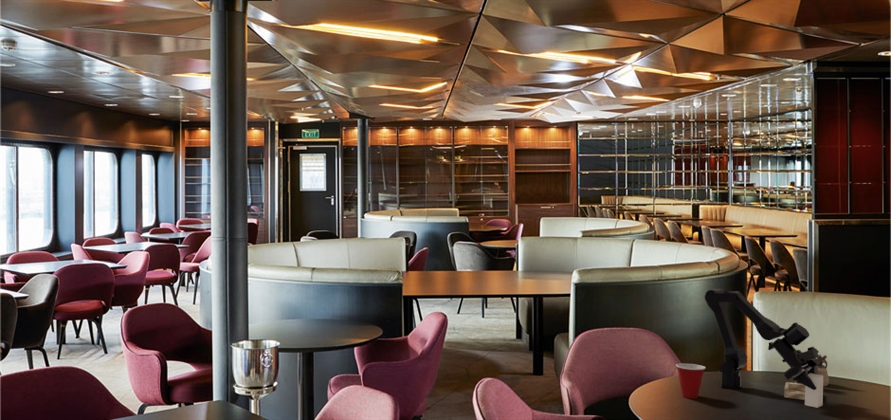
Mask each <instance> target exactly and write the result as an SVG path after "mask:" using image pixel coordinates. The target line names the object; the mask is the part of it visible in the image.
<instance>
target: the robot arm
mask: <svg viewBox="0 0 891 420" xmlns="http://www.w3.org/2000/svg"><path fill="white" fill-rule="evenodd" d="M704 300H705V302H706V304H707V306H708V307H709V309H710V310H711V311H712V312H713V314H714V318H715V321H716V323H717V327H718V329H719V330H718V331H719V334H720V337H721V340H722V344H723V346H724V354H723V357H724V358H723V359H724V362H723V363H721V364H720V366H718V369H719V372H720V373H721V385H720V388H723V389H731V390H740V388H741V386H742V375H741V373H740V372H742V371H743V368H744V367H745V366H746V365H747V362H748V360H747V359H748V356H747V354H746V350H745V348H741V347H740V346H739V345H738V343H737V340H736V336H735V334H734V331H733V327H732V324H731V321H730V318H729V314H728V312H727V305H728V304H727V303H733V305H734V306H736V307H737V308H738V310H740V311H741V313H743V314H744V316H746V318H748V320H750V321H751V323H752V324H753V325H754V326H755V329H756V331H757V333H758V334H759V336H760V337H761V338H762V339H763V340H765V341H771V342H768V348H767V350H768V351H772V350H774V349H775V351H776V352H777V353H778V354H779V356H780V357H781V358H782V360H781V362H783V363H786V364H787V365H788V367H789V368H788V369H787V370H786V371H784V373H783V376H784V378H786V380H787V381H789V380H791V379H792V381H797V382H799V383H801V384H803V385H805V386H807V387H809V388H811V389H813V390H815V389H816V387H815V385H814V384H813V382H812V381H811V379H810V378H809V376H808V374H810V373H812V374H817V373H816V367H817V365H818V364H819V363H820V362H819V361H818V360H817V359H815V358H817V357H819V355H820V354H819V350H818V349H817V348H816V347H814V346H810V347H807V350H805V351H803V352H802V351H801V350H800V349H796V348H795V346H799V345H800V344H802V343H804V341H805V340H807V339H808V338H809V337H810V332H809V331H808V330H807V328H805V327H804V326H802V325H800V324H799V323H798V322H797V321H796V322H793V323H792V324H791V325H790V326H789V327H788V328H783V327H781V326H780V325H778V324H777V323H776V322H775V321H773V320H771V319H770V318H768V317H765V316H764V315H763V314H762V313H761V312H760V311H759V310H758V309H757V308H756V307H755V306H754V305H753V304H752V303H751V302H750V301H749V300H747V298H745V296H744V295H743V293H741V292H740V291H738V290H736V291H730V290H723V289H722V288H713V289H709V290H707V291H706V292H705V294H704ZM781 337H782V338H781ZM775 339H776V340H775ZM772 340H774V341H772ZM818 354H819V355H818Z"/></svg>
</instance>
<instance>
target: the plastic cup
mask: <svg viewBox="0 0 891 420" xmlns="http://www.w3.org/2000/svg"><path fill="white" fill-rule="evenodd" d="M675 367H676V369H677V374H678V379H679V386H680V390H681V395H682V397H683V398H685V399H697V398H698V397H699V394H700V388H701V385H702V379H703V375H704V371H705V369H706V366H704V365H700V364H695V363H677V364H675Z"/></svg>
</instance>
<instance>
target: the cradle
mask: <svg viewBox="0 0 891 420" xmlns="http://www.w3.org/2000/svg"><path fill="white" fill-rule="evenodd" d="M794 381H795V380H794ZM783 390H784V392H783V393H784V394H783V397H784V398H788V399H796V400H803V401H805V385H803V384H801V383H799V382H797V381H795V382H789V381H787V382H785V385H784V389H783Z"/></svg>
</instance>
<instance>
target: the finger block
mask: <svg viewBox="0 0 891 420" xmlns="http://www.w3.org/2000/svg"><path fill="white" fill-rule="evenodd" d="M808 376H809V378H810V379H811V381H812V382H813V384H814V385H815V387H816V389H815V390H813V389H811V388H809V387H807V386H805V400H804V406H808V407H813V408H815V409H816V408H817V409H818V408H820V407H822V406H823V405H824V403H823V401H824V400H823V399H824V397H823V395H824V386H823V375H818V374H812V373H810V374H808Z"/></svg>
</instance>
